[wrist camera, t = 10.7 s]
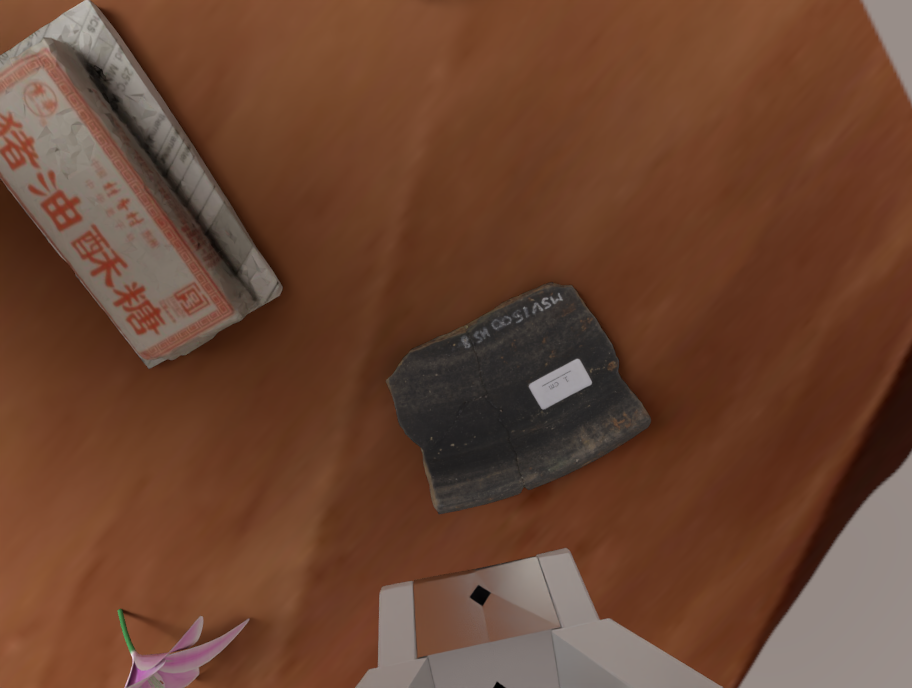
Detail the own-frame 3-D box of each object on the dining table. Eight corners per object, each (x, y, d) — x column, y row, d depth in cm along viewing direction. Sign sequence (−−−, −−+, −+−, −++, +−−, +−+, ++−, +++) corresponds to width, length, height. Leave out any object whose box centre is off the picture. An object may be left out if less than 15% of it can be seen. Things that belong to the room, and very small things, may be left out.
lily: (119, 696, 49) (143, 819, 42) (-6, 642, 41) (0, 782, 35) (251, 590, 52) (294, 690, 45) (157, 520, 44) (192, 628, 37)
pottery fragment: (574, 265, 41) (594, 279, 37) (636, 415, 45) (661, 443, 41) (368, 365, 42) (366, 389, 38) (447, 505, 46) (452, 541, 42)
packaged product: (278, 308, 35) (126, 394, 36) (290, 287, 40) (156, 364, 41) (56, -19, 30) (-119, 91, 30) (100, 0, 34) (-53, 95, 35)
